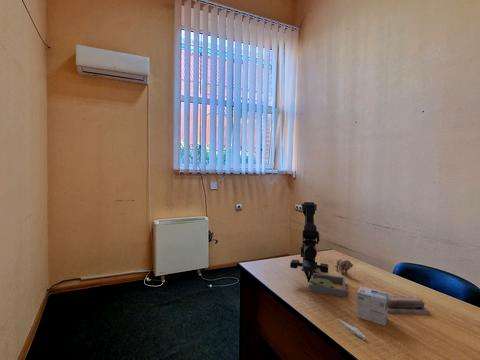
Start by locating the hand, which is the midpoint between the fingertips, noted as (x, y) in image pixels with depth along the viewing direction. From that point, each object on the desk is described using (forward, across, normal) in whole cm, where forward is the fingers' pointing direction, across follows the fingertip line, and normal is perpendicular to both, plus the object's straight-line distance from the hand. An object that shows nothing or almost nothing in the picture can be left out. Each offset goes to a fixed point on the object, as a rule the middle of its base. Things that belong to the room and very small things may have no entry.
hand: (308, 282), depth 139 cm
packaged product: (+1, +40, -9) cm, 41 cm away
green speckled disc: (+1, +6, 0) cm, 6 cm away
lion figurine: (+1, +17, +23) cm, 28 cm away
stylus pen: (+2, +19, -34) cm, 39 cm away
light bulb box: (+1, +27, -23) cm, 35 cm away
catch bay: (+1, +9, 0) cm, 9 cm away
